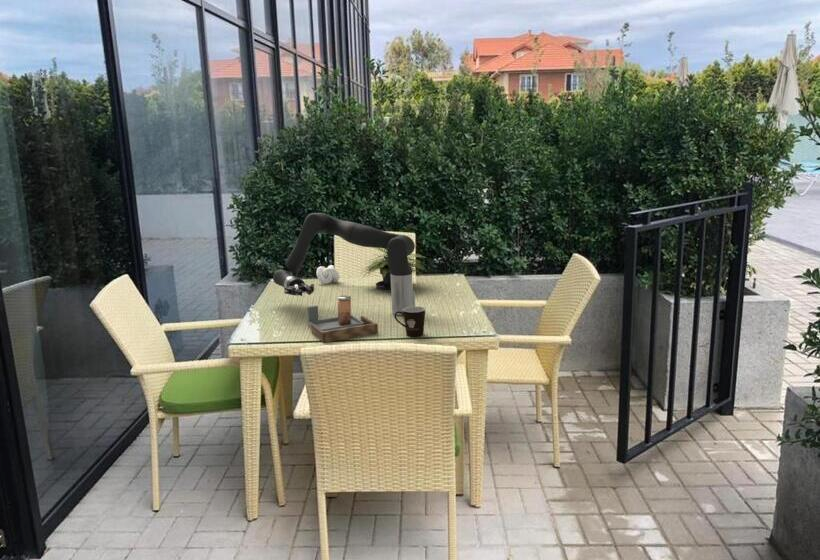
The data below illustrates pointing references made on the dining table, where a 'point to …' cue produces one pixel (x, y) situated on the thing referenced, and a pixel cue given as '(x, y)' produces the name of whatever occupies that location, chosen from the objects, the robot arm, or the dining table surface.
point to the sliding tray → (328, 320)
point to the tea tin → (344, 310)
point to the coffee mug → (413, 321)
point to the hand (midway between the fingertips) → (305, 292)
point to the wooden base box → (345, 331)
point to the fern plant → (385, 270)
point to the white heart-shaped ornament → (327, 274)
